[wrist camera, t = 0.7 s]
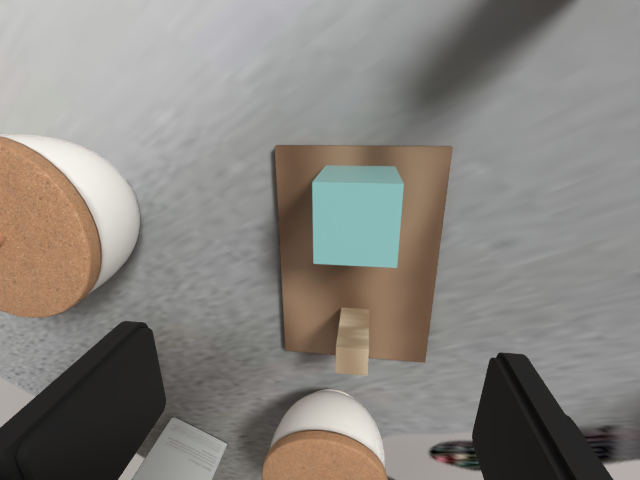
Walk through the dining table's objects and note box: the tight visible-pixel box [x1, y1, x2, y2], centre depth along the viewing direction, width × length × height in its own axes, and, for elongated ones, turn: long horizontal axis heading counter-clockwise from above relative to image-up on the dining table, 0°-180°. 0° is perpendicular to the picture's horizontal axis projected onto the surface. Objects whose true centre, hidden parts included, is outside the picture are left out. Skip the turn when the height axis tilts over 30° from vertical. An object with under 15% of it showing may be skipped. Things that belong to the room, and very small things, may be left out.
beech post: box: [336, 308, 369, 376], centre depth 28 cm, size 2×2×5 cm
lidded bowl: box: [0, 134, 140, 318], centre depth 25 cm, size 13×13×11 cm
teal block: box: [312, 165, 404, 268], centre depth 23 cm, size 5×5×7 cm
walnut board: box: [275, 145, 453, 362], centre depth 29 cm, size 13×19×1 cm
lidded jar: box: [262, 389, 388, 480], centre depth 31 cm, size 11×11×9 cm
